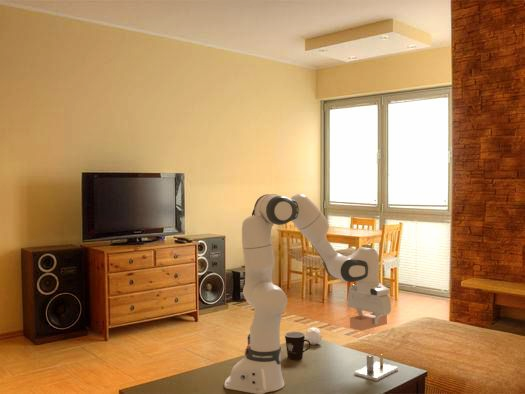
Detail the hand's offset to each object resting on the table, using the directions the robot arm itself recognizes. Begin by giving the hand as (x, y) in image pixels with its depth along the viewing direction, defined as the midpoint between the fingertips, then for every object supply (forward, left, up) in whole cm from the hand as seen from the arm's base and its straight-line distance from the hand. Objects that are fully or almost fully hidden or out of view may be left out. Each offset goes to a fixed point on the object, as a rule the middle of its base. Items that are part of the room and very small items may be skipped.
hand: (368, 322), depth 214 cm
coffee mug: (-31, +8, -20) cm, 38 cm away
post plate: (+3, -2, -20) cm, 20 cm away
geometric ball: (-27, +30, -20) cm, 45 cm away
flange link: (0, 0, -2) cm, 2 cm away
